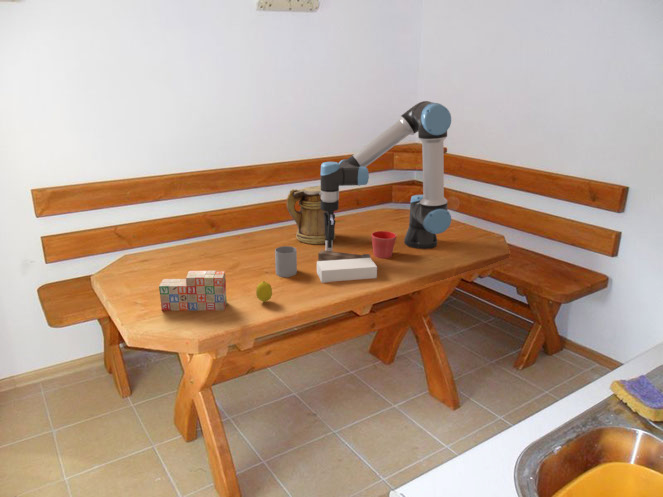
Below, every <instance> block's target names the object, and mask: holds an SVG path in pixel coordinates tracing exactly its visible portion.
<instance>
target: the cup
mask: <svg viewBox="0 0 663 497" xmlns="http://www.w3.org/2000/svg"><path fill="white" fill-rule="evenodd" d="M297 253H298V252H297V248H296V247H294V246H290V245H283V246H279V247H276V248H275V249H274V258H275V259H274V261H275V262H274V263H275V274H276V276H278V277H279V278H280V277H281V278H292V276H295V275H296V274H297V273H298V264H297V263H298V262H297V261H298V259H297V258H298V257H297V255H298V254H297Z"/></svg>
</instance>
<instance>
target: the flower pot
mask: <svg viewBox="0 0 663 497" xmlns="http://www.w3.org/2000/svg"><path fill="white" fill-rule="evenodd" d="M396 240H397V235H396V233H394V232H392V231H387V230H377V231H373V232H372V233H371V243H372V244H371V245H372V251H373V256H374V257H375V258H378V259H389V258H391V257H392V255H393V253H394V252H393V251H394V248H395V244H396Z"/></svg>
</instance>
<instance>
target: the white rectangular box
mask: <svg viewBox="0 0 663 497" xmlns="http://www.w3.org/2000/svg"><path fill="white" fill-rule="evenodd" d="M316 274H317V276H318V278H319V280H320V283H322V284H323V283H331V282H340V281H341V282H342V281H353V280H368V279H377V278H378V266H377V265H376V263H375V262H374V261H373V260H372V258H371V257H370V258H358V259H343V260H329V261H318V260H316Z"/></svg>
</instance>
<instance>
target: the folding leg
mask: <svg viewBox="0 0 663 497" xmlns="http://www.w3.org/2000/svg"><path fill="white" fill-rule="evenodd" d="M317 256H318V259H317V261H329V260H343V259H358V258H371V255H370V254H368V253H363V254H355V253H349V252H339V251H333V250H332V251H326V250H324V249H321V250H320V251H319V252H318V253H317Z"/></svg>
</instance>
